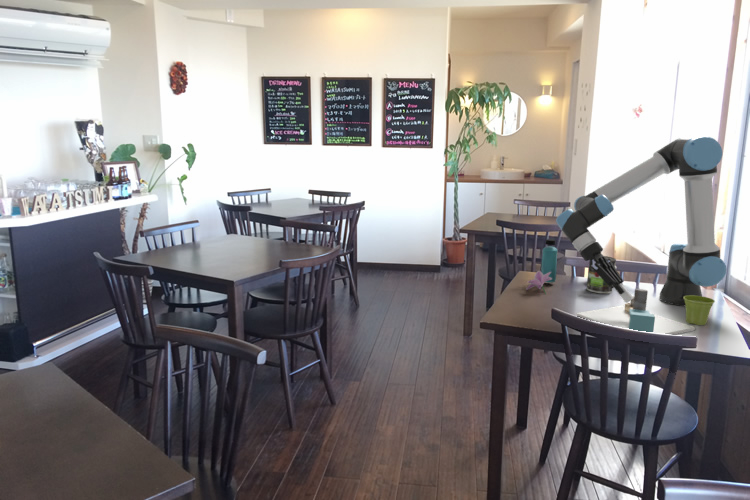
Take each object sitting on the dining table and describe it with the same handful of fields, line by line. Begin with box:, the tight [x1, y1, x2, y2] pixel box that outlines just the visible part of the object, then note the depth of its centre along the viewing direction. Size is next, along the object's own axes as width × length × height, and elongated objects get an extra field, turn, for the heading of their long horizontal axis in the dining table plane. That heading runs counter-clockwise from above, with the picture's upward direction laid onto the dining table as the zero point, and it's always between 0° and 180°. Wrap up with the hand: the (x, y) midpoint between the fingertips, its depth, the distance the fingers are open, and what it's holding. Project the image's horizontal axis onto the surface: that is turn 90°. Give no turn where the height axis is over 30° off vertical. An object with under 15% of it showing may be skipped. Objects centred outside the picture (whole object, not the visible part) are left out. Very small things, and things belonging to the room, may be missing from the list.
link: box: [624, 288, 649, 312], centre depth 193 cm, size 21×6×10 cm, turn 165°
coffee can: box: [586, 255, 617, 294], centre depth 232 cm, size 10×10×14 cm
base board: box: [575, 304, 696, 335], centre depth 191 cm, size 25×28×1 cm
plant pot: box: [683, 295, 716, 326], centre depth 191 cm, size 9×9×9 cm
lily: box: [525, 270, 552, 295], centre depth 229 cm, size 12×12×10 cm
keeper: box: [629, 309, 655, 332], centre depth 184 cm, size 10×7×6 cm, turn 161°
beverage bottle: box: [540, 238, 559, 283], centre depth 241 cm, size 6×7×20 cm
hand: (629, 300), depth 193 cm, fingers closed
